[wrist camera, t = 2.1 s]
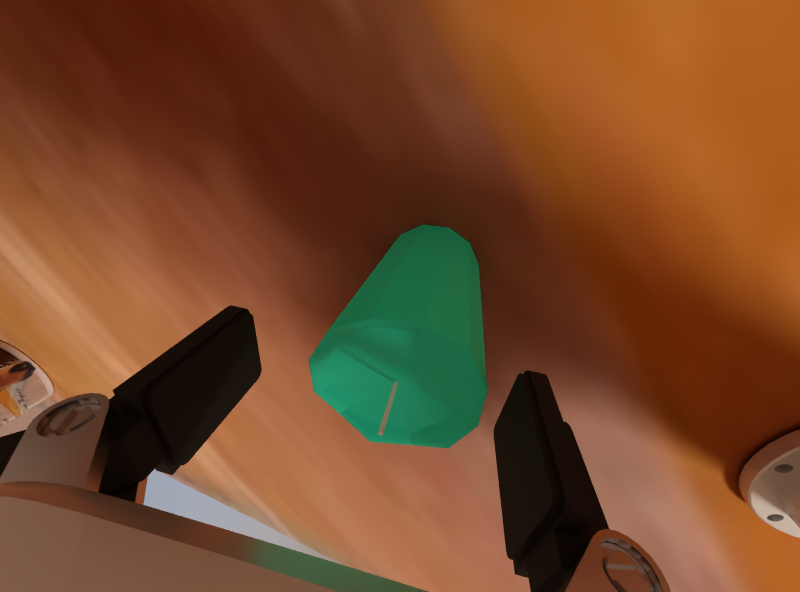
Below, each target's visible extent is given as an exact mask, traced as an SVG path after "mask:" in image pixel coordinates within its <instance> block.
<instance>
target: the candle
mask: <svg viewBox="0 0 800 592" xmlns="http://www.w3.org/2000/svg"><path fill="white" fill-rule="evenodd" d="M309 365H310V371H311V377H312V383H313V389H314V392H315V393H316V394H318V395H319V396H320V397H321V398H322V399H323V400H325V401H326V402H327V403H328V404H329V405H330V406H331V407H333V408H334V409H335V410H336V411H337V412H338V413H340V414H341V415H342V416H343V417H344V418H345V419H346V420H347V421H348V422H349V423H350V424H351V425H353V426H354V427H355V428H356V429H357V430H358V431H359V432H360V433H361V434H362V435H363V436H364V437H366V438H367V439H368V440H369V441H370V442H379V443H392V444H405V445H416V446H427V447H438V448H450V447H451V446H452V445H453V444H455V443H456V442H457V441H459V440H460V439H461V438H463V437H464V436H465V435H467V434H468V433H469V432H470V431H472V430H473V429H474V428H476V427H477V426H478V424H479V420H480V416H481V413H482V409H483V405H484V402H485V398H486V395H487V378H486V363H485V348H484V334H483V319H482V304H481V290H480V275H479V265H478V262H477V260H476V257H475V255H474V252H473V250H472V247H471V244H470V243H469V242H468V241H467V240H465V239H464V238H463V237H461V236H460V235H459V234H457V233H456V232H455V231H453V230H452V229H451V228H449V227H441V226H432V225H421V226H419V227H416V228H414V229H412V230H409V231H407V232H405V233H403V234H400V236H399V237H398V238H397V240H396V241H395V242H394V244H393V245H392V246H391V248H390V249H389V250H388V252H387V253H386V254H385V256H384V257H383V258H382V260H381V261H380V262H379V264H378V265H377V266H376V268H375V269H374V270H373V272H372V273H371V274H370V276H369V277H368V278H367V280H366V281H365V282H364V284H363V285H362V286H361V288H360V289H359V290H358V292H357V293H356V294H355V296H354V297H353V298H352V299H351V301H350V302H349V303H348V305H347V306H346V307H345V309H344V310H343V311H342V313H341V314H340V315H339V317H338V318H337V319H336V321H335V322H334V323H333V325H332V326H331V327H330V329H329V330H328V332H327V333H326V335H325V336H324V338H323V339H322V341H321V342H320V344H319V345H318V347H317V348H316V350H315V351H314V353H313V354H312V356H311V357H310V358H309Z"/></svg>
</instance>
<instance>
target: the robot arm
mask: <svg viewBox="0 0 800 592" xmlns="http://www.w3.org/2000/svg"><path fill="white" fill-rule="evenodd" d="M261 370H262V368H261V362H260V356H259V350H258V344H257V337H256V331H255V325H254V319H253V316H252V314H250V312H249V310H248V309H245V308H240V307H236V306H228V307H227V308H225V309H224V310H222V311H221V312H220V313H218V314H217V315H216V316H214V317H213V318H211V319H210V320H209V321H207V322H206V323H205V324H203V325H202V326H200V327H199V328H198V329H196V330H195V331H194V332H192V333H191V334H189V335H188V336H187V337H185V338H184V339H183V340H181V341H180V342H178V343H177V344H176V345H174V346H173V347H172V348H170V349H169V350H167V351H166V352H165V353H163V354H162V355H161V356H159V357H158V358H156V359H155V360H154V361H152V362H151V363H150V364H148V365H147V366H145V367H144V368H143V369H141V370H140V371H139V372H137V373H136V374H134V375H133V376H132V377H130V378H129V379H128V380H126V381H125V382H123V383H122V384H121V385H119V386H118V387H117V388H115V389H114V390H113V392H114V394H115V396H113V397H112V398H111V399H108V398H107V397H106V396H104V395H102V394H96V393H89V394H82V395H77V396H74V397H71V398H67V399H65V400H63V401H61V402H58V403H56V404H54V405H53V406H51V407H49V408H48V409H46V410H44V411H43V412H42V413H40V414H39V415H38V416H37V417H36V418H35V419H33V421H32V422H31V423H30V425H29V426H28V427H27V429H26V430H23V431H20V432H16V433H13V434H10V435H7V436H3V437H0V592H428V591H425V590H421V589H418V588H415V587H412V586H408V585H405V584H402V583H399V582H396V581H392V580H389V579H386V578H383V577H379V576H376V575H373V574H370V573H367V572H363V571H360V570H357V569H354V568H350V567H347V566H344V565H341V564H337V563H334V562H331V561H328V560H324V559H321V558H318V557H314V556H311V555H308V554H305V553H301V552H298V551H295V550H291V549H288V548H285V547H282V546H278V545H275V544H272V543H268V542H265V541H262V540H258V539H255V538H252V537H248V536H245V535H242V534H239V533H235V532H232V531H229V530H225V529H222V528H219V527H216V526H212V525H209V524H205V523H202V522H198V521H195V520H192V519H189V518H185V517H182V516H178V515H175V514H172V513H169V512H165V511H162V510H158V509H155V508H152V507H148V506H145V505H143V503H144V497H145V490H146V484H147V477H148V475H149V474H150V473H151V472H152V471H153V470H154V469H156V470H157V471H160V472H164V473H167V474H171V475H173V474H174V473H175V471H176V470H177V469H178V468H179V467H180V466H181V465H184V464H186V463H187V462H188V461H189V460H190V459H191V458H192V457H193V456H194V455H195V453H196V452H197V451H198V450H199V449H200V447H201V446H202V445H203V444H204V443H205V441H206V440H207V439H208V438H209V437H210V435H211V434H212V433H213V432H214V431H215V430H216V428H217V427H218V426H219V425H220V424H221V422H222V421H223V420H224V419H225V418H226V416H227V415H228V414H229V413H230V412H231V410H232V409H233V408H234V407H235V406H236V405H237V403H238V402H239V401H240V400H241V399H242V397H243V396H244V395H245V394H246V393H247V391H248V390H249V389H250V388H251V387H252V385H253V384H254V383H255V382H256V381H257V380H258V378H259V376H260V374H261ZM494 442H495V451H496V461H497V470H498V479H499V489H500V498H501V507H502V517H503V526H504V535H505V544H506V552H507V556H508V558H509V559H512V560H513V562H514V570H515V574H516V575H520V576H523V577H527V578H529V583H530V589H531V592H671V591H670V588H669V585H668V583H667V581H666V579H665V577H664V575H663V573H662V571H661V570H660V568H659V567H658V565H657V564H656V563H655V561H654V560H653V559H652V557H651V556H650V555H649V554H648V553H647V552H646V551H645V550H644V549H643V548H642V547H641V546H640V545H639V544H638V543H636V542H635V541H634V540H632V539H631V538H629V537H628V536H626V535H624V534H622V533H620V532H618V531H615V530H609V527H608V524H607V522H606V519H605V516H604V514H603V511H602V508H601V506H600V503H599V500H598V498H597V495H596V492H595V490H594V487H593V484H592V482H591V479H590V476H589V474H588V471H587V468H586V466H585V463H584V460H583V458H582V455H581V452H580V450H579V447H578V445H577V442H576V439H575V437H574V434H573V431H572V429H571V427H570V425H569V424H568V423H567V422H563V419H562V416H561V413H560V411H559V408H558V405H557V402H556V399H555V397H554V394H553V391H552V388H551V385H550V383H549V380H548V377H547V375H545V374H542V373H537V372H533V371H525V372H524V374H521V373H520V374H518V376H517V378H516V380H515V383H514V385H513V387H512V389H511V391H510V393H509V396H508V398H507V400H506V402H505V404H504V407H503V409H502V411H501V413H500V415H499V418H498V420H497V422H496V424H495V428H494ZM739 489H740V492H741V495H742V497H743V498H744V500H745V501H746V502H747V504H748V505H749V506H750V508H751V509H752V510H753V512H754V513H755V514H756V515H757V516H758V517H759V518H760V519H761V520H762V521H764V522H765V523H767V524H769V525H770V526H772V527H774V528H775V529H777V530H780V531H782V532H785V533H787V534H790V535H792V536H795V537H798V538H800V429H798V430H796V431H793V432H791V433H788V434H786V435H784V436H782V437H780V438H778V439H776V440H775V441H773V442H771V443H769V444H768V445H766V446H765V447H763V448H762V449H761V450H759V451H758V452H757V453H755V454H754V455H753V456H752V458H751V459H750V460H749V461H748V462H747V463H746V464H745V466H744V468H743V470H742V472H741V474H740V477H739Z"/></svg>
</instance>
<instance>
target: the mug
mask: <svg viewBox="0 0 800 592" xmlns="http://www.w3.org/2000/svg"><path fill="white" fill-rule="evenodd" d="M53 393H54V387H53V385H52V382H51V381H50V379H49V378H48V376H47V375H46V374H45V372H44V371H43V370H42V369H41V368H40V367H39V366H38V365H37V364H36V363H35V362H34V361H32V360H31V359H30V358H29V357H27V356H26V355H25V354H23V353H22V352H20V351H19V350H17V349H16V348H14V347H12V346H10V345H8V344H6V343H4V342H2V341H0V427H2V426H3V425H5V424H7V423H8V422H10V421H12V420H13V419H15V418H17V417H18V416H20V415H21V414H23V413H25V412H26V411H28V410H29V409H31V408H33V407H35V406H36V405H38V404H40V403H41V402H43V401H45V400H46V399H48V398H49V397H51V396H52V395H53Z"/></svg>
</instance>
